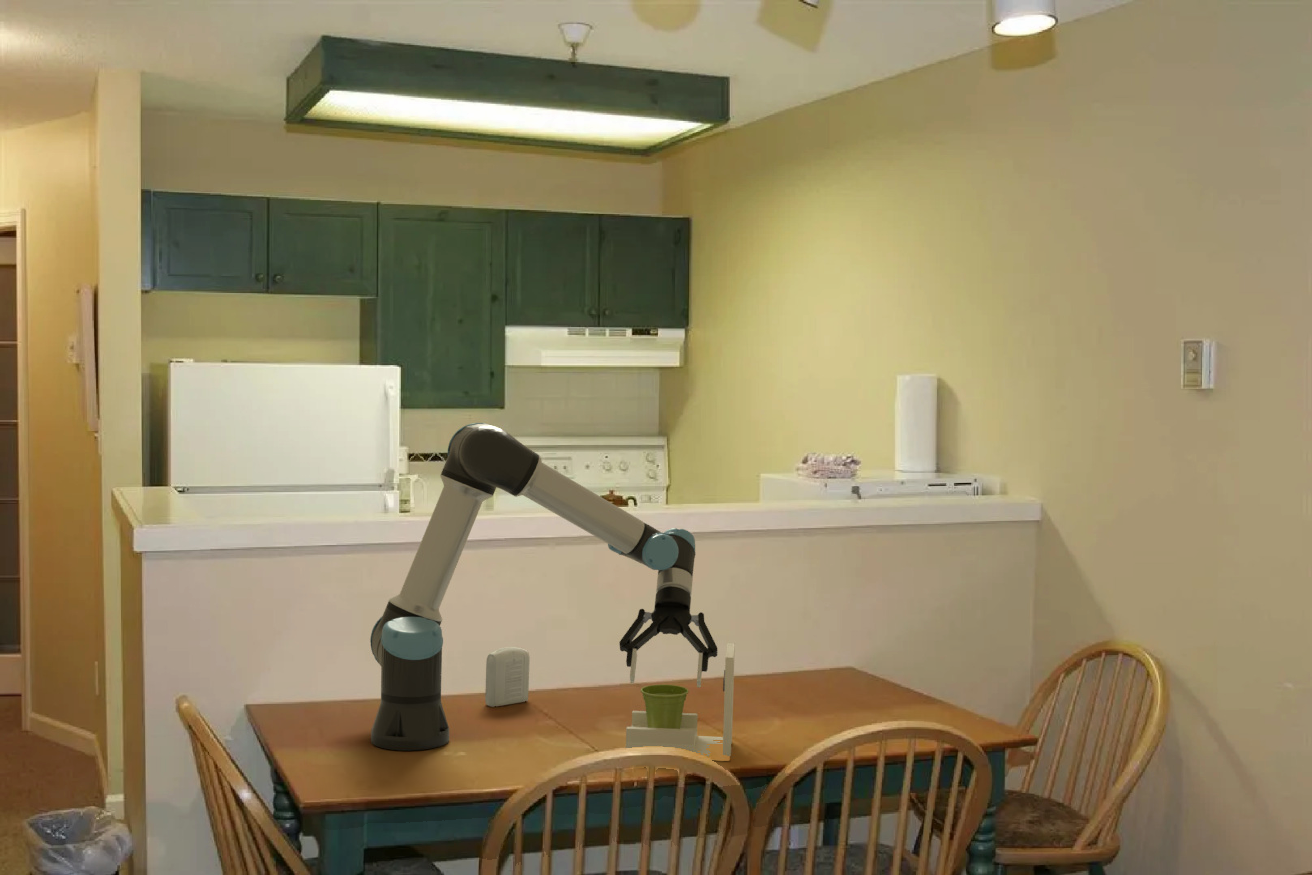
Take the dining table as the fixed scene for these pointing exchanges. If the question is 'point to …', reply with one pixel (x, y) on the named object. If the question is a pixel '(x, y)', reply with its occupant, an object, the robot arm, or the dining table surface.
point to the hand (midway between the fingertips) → (665, 681)
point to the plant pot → (664, 705)
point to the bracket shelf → (687, 723)
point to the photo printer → (507, 676)
